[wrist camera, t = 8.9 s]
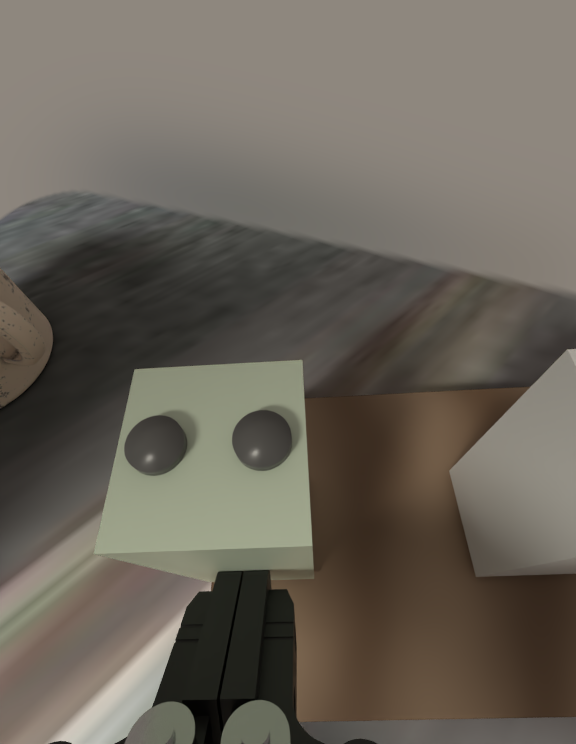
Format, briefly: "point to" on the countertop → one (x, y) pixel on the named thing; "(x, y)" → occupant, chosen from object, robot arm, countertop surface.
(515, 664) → the brown wooden board
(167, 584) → the countertop surface
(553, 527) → the three dot key
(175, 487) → the two dot key
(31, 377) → the teacup with lid
